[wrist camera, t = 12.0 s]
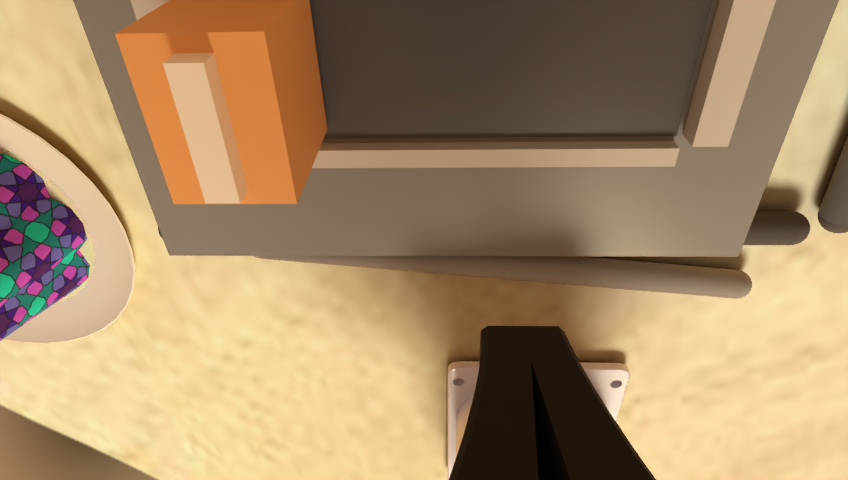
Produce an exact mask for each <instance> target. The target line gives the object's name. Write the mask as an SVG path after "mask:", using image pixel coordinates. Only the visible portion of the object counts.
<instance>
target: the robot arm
mask: <svg viewBox="0 0 848 480" xmlns="http://www.w3.org/2000/svg"><path fill="white" fill-rule="evenodd" d="M457 378H460V379H457ZM628 379H629V370H628V368H627V366H626V365H624V364H622V363H583V362H579V360H578V358H577V356H576V354H575V353H574V351H573V349H572V347H571V345H570V343H569V341H568V339H567V337H566V335H565V333H564V331H563V330H562V329H561V328H560V327H558V326H487V327H486V328H484V329H483V330H481V339H480V361H456V362H453V363H451V364H450V365H449V366H448V480H656V479H655V478H654V476H653V475H652V474H651V472H650V471H649V469H648V468H647V467H646V465H645V464H644V463H643V461H642V460H641V458H640V457H639V455H638V454H637V453H636V451H635V450H634V448H633V447H632V445H631V444H630V442H629V441H628V439H627V438H626V436H625V435H624V433H623V432H622V430H621V429H620V427H619V426H618V424H617V423H616V420H617V417H618V414H619V410H620V407H621V403H622V400H623V396H624V393H625V389H626V386H627V383H628ZM615 380H616V381H615Z"/></svg>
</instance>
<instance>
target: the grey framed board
mask: <svg viewBox="0 0 848 480" xmlns="http://www.w3.org/2000/svg"><path fill="white" fill-rule="evenodd" d="M73 1H74V3H75V6H76V9H77V11H78V14H79V17H80V19H81V22H82V25H83V27H84V30H85V33H86V35H87V38H88V41H89V43H90V46H91V49H92V51H93V54H94V57H95V59H96V62H97V64H98V67H99V70H100V72H101V75H102V78H103V80H104V83H105V86H106V88H107V91H108V94H109V96H110V99H111V102H112V104H113V107H114V110H115V112H116V115H117V118H118V120H119V123H120V126H121V128H122V131H123V134H124V136H125V139H126V142H127V144H128V147H129V150H130V152H131V155H132V158H133V160H134V163H135V166H136V168H137V171H138V174H139V176H140V179H141V182H142V184H143V187H144V190H145V192H146V195H147V197H148V200H149V203H150V205H151V208H152V211H153V213H154V216H155V219H156V221H157V224H158V227H159V229H160V232H161V235H162V237H163V240H164V243H165V245H166V248H167V251H168V253H169V255H224V256H666V257H738V256H739V254H740V251H741V249H742V246H743V244H744V241H745V238H746V236H747V233H748V231H749V228H750V226H751V223H752V221H753V218H754V215H755V213H756V210H757V208H758V205H759V203H760V200H761V198H762V195H763V192H764V190H765V187H766V185H767V182H768V180H769V177H770V175H771V172H772V169H773V167H774V164H775V162H776V159H777V157H778V154H779V152H780V149H781V146H782V144H783V141H784V139H785V136H786V134H787V131H788V129H789V126H790V123H791V121H792V118H793V116H794V113H795V111H796V108H797V106H798V103H799V100H800V98H801V95H802V93H803V90H804V88H805V85H806V83H807V80H808V77H809V75H810V72H811V70H812V67H813V65H814V62H815V60H816V57H817V54H818V52H819V49H820V47H821V44H822V42H823V39H824V37H825V34H826V31H827V29H828V26H829V24H830V21H831V19H832V16H833V14H834V11H835V8H836V6H837V3H838V1H839V0H309V1H310V8H311V15H312V22H313V29H314V37H315V44H316V51H317V58H318V65H319V73H320V80H321V87H322V94H323V101H324V108H325V116H326V123H327V132H326V134H325V137H324V139H323V141H322V144H321V146H320V149H319V151H318V154H317V156H316V159H315V161H314V164H313V166H312V168H311V171H310V173H309V176H308V178H307V181H306V183H305V186H304V188H303V191H302V193H301V195H300V198H299V200H298V203H297V204H174V203H173V201H172V198H171V195H170V192H169V189H168V186H167V183H166V180H165V177H164V175H163V172H162V169H161V166H160V163H159V160H158V157H157V154H156V151H155V149H154V146H153V143H152V140H151V137H150V134H149V131H148V128H147V125H146V123H145V120H144V117H143V114H142V111H141V108H140V105H139V102H138V99H137V96H136V94H135V91H134V88H133V85H132V82H131V79H130V76H129V73H128V70H127V68H126V65H125V62H124V59H123V56H122V53H121V50H120V47H119V44H118V42H117V39H116V36H115V33H117V32H119V31H120V30H122V29H124V28H125V27H127V26H128V25H130V24H132V23H133V22H135V21H137V20H138V19H140V18H142V17H143V16H145V15H146V14H148V13H150V12H151V11H153V10H155V9H156V8H158V7H160V6H161V5H163V4H164V3H166V2H168V1H169V0H73Z"/></svg>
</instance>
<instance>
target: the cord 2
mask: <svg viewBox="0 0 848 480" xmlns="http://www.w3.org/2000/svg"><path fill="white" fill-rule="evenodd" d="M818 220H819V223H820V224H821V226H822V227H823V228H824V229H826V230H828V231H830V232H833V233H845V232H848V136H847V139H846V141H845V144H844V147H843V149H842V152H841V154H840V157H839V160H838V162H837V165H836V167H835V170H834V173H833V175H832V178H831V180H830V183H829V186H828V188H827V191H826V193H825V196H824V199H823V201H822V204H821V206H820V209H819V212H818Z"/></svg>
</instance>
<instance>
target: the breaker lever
mask: <svg viewBox="0 0 848 480" xmlns="http://www.w3.org/2000/svg"><path fill="white" fill-rule="evenodd" d="M115 36H116V39H117V42H118V44H119V47H120V50H121V53H122V56H123V59H124V62H125V65H126V68H127V70H128V73H129V76H130V79H131V82H132V85H133V88H134V91H135V94H136V96H137V99H138V102H139V105H140V108H141V111H142V114H143V117H144V120H145V123H146V125H147V128H148V131H149V134H150V137H151V140H152V143H153V146H154V149H155V151H156V154H157V157H158V160H159V163H160V166H161V169H162V172H163V175H164V177H165V180H166V183H167V186H168V189H169V192H170V195H171V198H172V201H173V203H174V204H297V203H298V200H299V198H300V195H301V193H302V191H303V188H304V186H305V183H306V181H307V178H308V176H309V173H310V171H311V168H312V166H313V164H314V161H315V159H316V156H317V154H318V151H319V149H320V146H321V144H322V141H323V139H324V137H325V134H326V132H327V123H326V116H325V108H324V101H323V94H322V87H321V80H320V73H319V65H318V58H317V51H316V44H315V37H314V29H313V22H312V15H311V8H310V1H309V0H169V1H168V2H166V3H164V4H163V5H161V6H160V7H158V8H156V9H155V10H153V11H151V12H150V13H148V14H146V15H145V16H143V17H142V18H140V19H138V20H137V21H135V22H133V23H132V24H130V25H128V26H127V27H125V28H124V29H122V30H120V31H119V32H117V33H115Z"/></svg>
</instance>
